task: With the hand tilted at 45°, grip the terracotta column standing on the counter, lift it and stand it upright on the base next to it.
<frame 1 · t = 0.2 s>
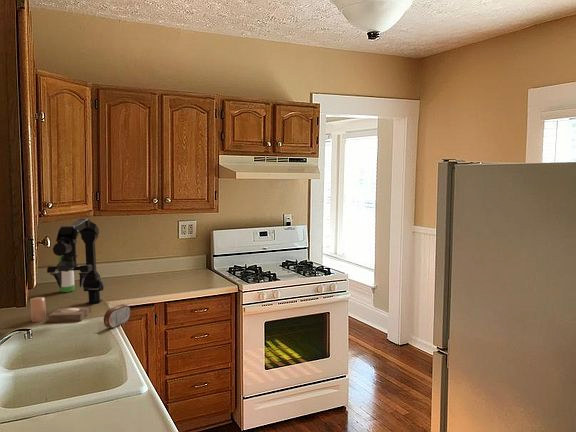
hand: (70, 287, 230), 14 cm above the worktop, tool pointing down, fingers open, 9 cm apart
wine bottle: (67, 291, 285), on the worktop
base: (70, 317, 233), on the worktop
column: (39, 320, 229), on the worktop
tin: (118, 325, 219), on the worktop
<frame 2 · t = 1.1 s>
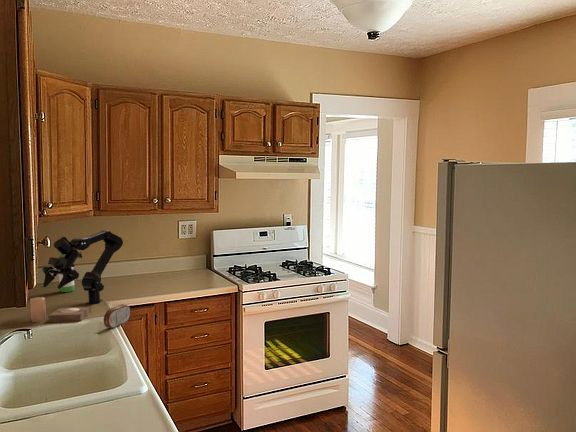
hand: (51, 287, 235), 13 cm above the worktop, tool tilted 45°, fingers open, 9 cm apart
nothing on the worktop moved.
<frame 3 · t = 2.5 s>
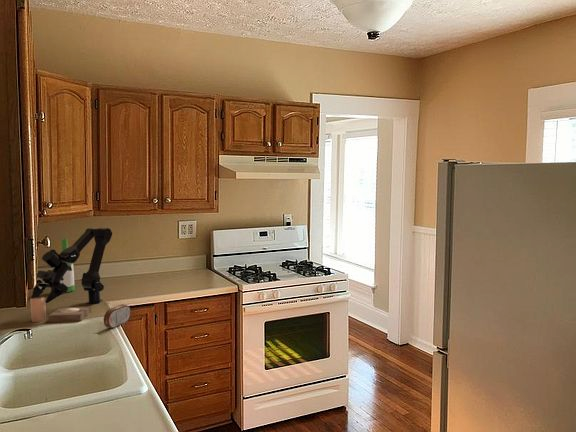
hand: (38, 301, 229), 8 cm above the worktop, tool tilted 45°, fingers open, 9 cm apart
nothing on the worktop moved.
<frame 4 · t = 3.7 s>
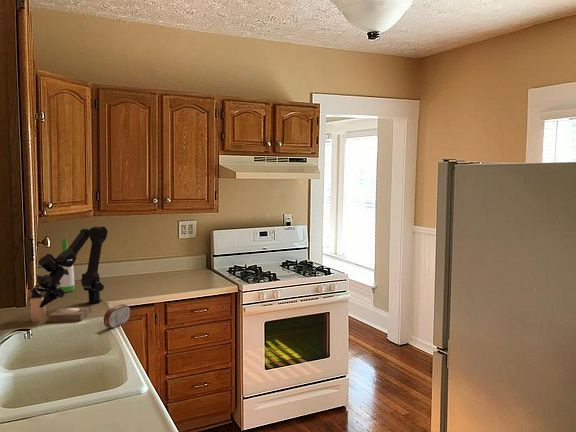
hand: (35, 306, 227), 7 cm above the worktop, tool tilted 45°, fingers closed on column, 6 cm apart
column: (38, 320, 229), on the worktop, touching gripper
everything else where it was.
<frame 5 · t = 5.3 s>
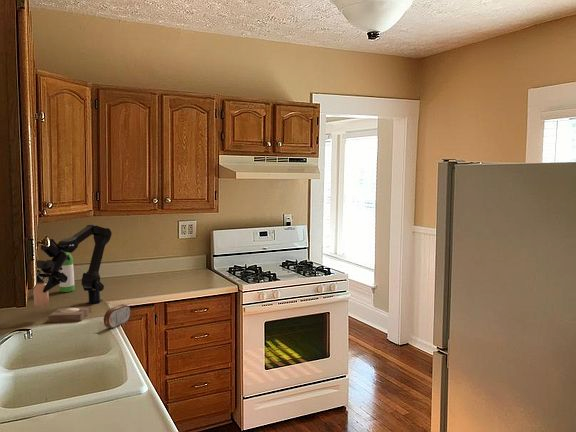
hand: (38, 291, 227), 13 cm above the worktop, tool tilted 45°, fingers closed on column, 6 cm apart
column: (41, 305, 229), point 7 cm above the worktop, touching gripper
everything else where it was.
when the fingers open (11 cm above the worktop, at t = 7.2 s): column drops 1 cm, resting on base.
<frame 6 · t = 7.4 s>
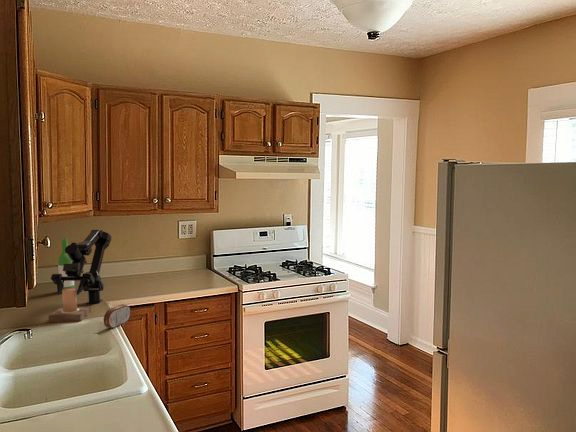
hand: (67, 294, 230), 11 cm above the worktop, tool tilted 45°, fingers open, 8 cm apart
column: (70, 310, 232), point 3 cm above the worktop, touching base
everything else where it was.
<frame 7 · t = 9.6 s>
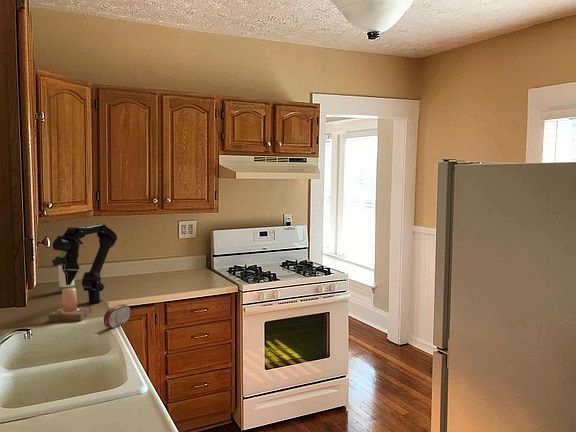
hand: (68, 284, 242), 13 cm above the worktop, tool pointing down, fingers open, 9 cm apart
nothing on the worktop moved.
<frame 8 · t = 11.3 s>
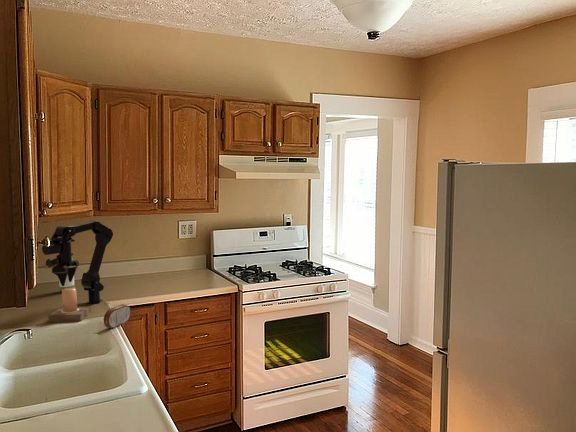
hand: (66, 283, 244), 13 cm above the worktop, tool pointing down, fingers open, 9 cm apart
nothing on the worktop moved.
at the end: column inside the target area on the base (0.1 cm from its centre), point 3.2 cm above the base's base; column tilted 0°; the gripper is holding nothing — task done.
